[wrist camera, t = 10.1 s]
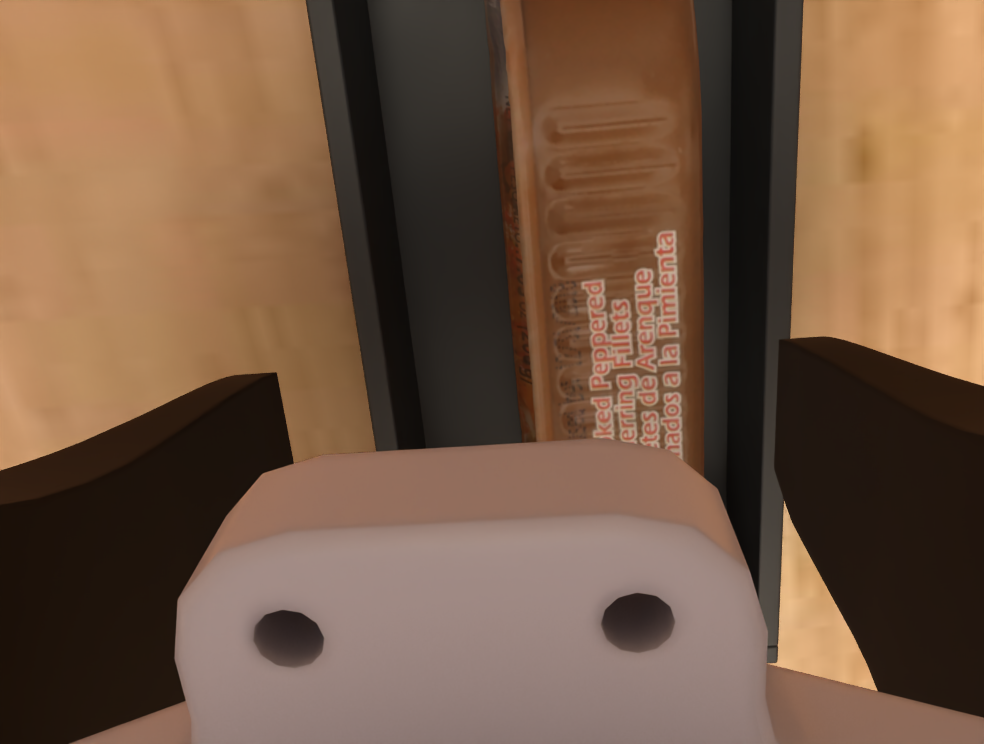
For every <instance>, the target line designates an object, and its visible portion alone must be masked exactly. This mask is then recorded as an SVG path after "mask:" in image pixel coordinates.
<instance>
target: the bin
mask: <svg viewBox="0 0 984 744" xmlns="http://www.w3.org/2000/svg"><path fill="white" fill-rule="evenodd" d="M693 1H694V10H695V20H696V31H697V43H698V55H699V71H700V91H701V110H702V189H703V272H704V478H705V479H706V480H707V481H708V482H710V483H711V484H712V485H713V486H715V487H716V488H717V489H718V491H719V494H720V496H721V499H722V502H723V504H724V507H725V509H726V512H727V514H728V517H729V519H730V522H731V525H732V527H733V530H734V532H735V535H736V537H737V540H738V542H739V545H740V548H741V550H742V553H743V555H744V558H745V560H746V563H747V565H748V568H749V571H750V574H751V577H752V580H753V584H754V587H755V590H756V594H757V597H758V600H759V604H760V607H761V610H762V614H763V617H764V620H765V624H766V627H767V630H768V644H767V663H776V662H777V660H778V646H777V645H778V634H779V609H780V584H781V558H782V533H783V508H784V498H783V495H782V492H781V489H780V486H779V483H778V480H777V476H776V473H775V470H774V453H775V428H776V402H777V376H778V350H779V339H790V331H791V305H792V280H793V255H794V229H795V204H796V179H797V154H798V128H799V103H800V78H801V52H802V27H803V2H804V0H693ZM306 6H307V12H308V18H309V25H310V31H311V38H312V44H313V50H314V57H315V63H316V70H317V76H318V82H319V89H320V95H321V102H322V108H323V114H324V121H325V127H326V134H327V140H328V146H329V153H330V159H331V166H332V172H333V178H334V185H335V191H336V198H337V204H338V210H339V217H340V223H341V230H342V236H343V242H344V249H345V255H346V262H347V268H348V274H349V281H350V287H351V294H352V300H353V306H354V313H355V319H356V326H357V332H358V338H359V345H360V351H361V358H362V364H363V370H364V377H365V383H366V390H367V396H368V402H369V409H370V415H371V421H372V428H373V434H374V441H375V447H376V452H378V451H395V450H412V449H429V448H446V447H463V446H479V445H496V444H513V443H522V430H521V424H520V415H519V409H518V397H517V384H516V373H515V363H514V352H513V341H512V328H511V316H510V304H509V290H508V279H507V268H506V253H505V243H504V232H503V218H502V207H501V194H500V183H499V172H498V162H497V148H496V133H495V126H494V113H493V101H492V88H491V72H490V53H489V47H488V39H487V29H486V16H485V3H484V0H306Z"/></svg>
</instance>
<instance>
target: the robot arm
mask: <svg viewBox="0 0 984 744" xmlns="http://www.w3.org/2000/svg"><path fill="white" fill-rule="evenodd" d="M774 470H775V473H776V476H777V480H778V483H779V486H780V489H781V492H782V495H783V498H784V501H785V504H786V506H787V509H788V512H789V515H790V518H791V520H792V523H793V525H794V527H795V528H796V530H797V532H798V534H799V536H800V538H801V540H802V542H803V544H804V546H805V548H806V549H807V551H808V553H809V555H810V557H811V559H812V561H813V563H814V564H815V566H816V568H817V570H818V572H819V574H820V575H821V577H822V579H823V581H824V583H825V585H826V586H827V588H828V590H829V592H830V594H831V596H832V597H833V599H834V601H835V603H836V605H837V607H838V608H839V610H840V612H841V614H842V616H843V618H844V619H845V621H846V623H847V625H848V627H849V629H850V630H851V632H852V634H853V636H854V638H855V640H856V642H857V644H858V646H859V648H860V650H861V652H862V655H863V657H864V659H865V661H866V663H867V665H868V667H869V670H870V673H871V675H872V678H873V680H874V683H875V685H876V688H877V690H878V691H874V690H870V689H866V688H862V687H858V686H854V685H850V684H846V683H842V682H838V681H834V680H830V679H826V678H822V677H818V676H814V675H810V674H806V673H802V672H797V671H793V670H789V669H785V668H781V667H777V666H773V665H769V664H767V644H768V630H767V627H766V624H765V620H764V617H763V614H762V610H761V607H760V604H759V600H758V597H757V594H756V590H755V587H754V584H753V580H752V577H751V574H750V571H749V568H748V565H747V563H746V560H745V558H744V555H743V553H742V550H741V548H740V545H739V542H738V540H737V537H736V535H735V532H734V530H733V527H732V525H731V522H730V519H729V517H728V514H727V512H726V509H725V507H724V504H723V502H722V499H721V496H720V494H719V491H718V489H717V488H716V487H715V486H713V485H712V484H711V483H710V482H708V481H707V480H706V479H705V478H704V477H702V476H701V475H700V474H699V473H697V472H696V471H695V470H694V469H693V468H691V467H690V466H689V465H688V464H686V463H685V462H684V461H683V460H682V459H680V458H679V457H678V456H677V455H675V454H674V453H673V452H672V451H671V450H668V449H662V448H656V447H651V446H645V445H639V444H634V443H628V442H623V441H617V440H611V439H606V438H597V439H581V440H564V441H547V442H530V443H513V444H496V445H479V446H463V447H446V448H429V449H412V450H395V451H378V452H361V453H344V454H328V455H320V456H317V457H314V458H310V459H307V460H304V461H301V462H298V463H295V464H294V461H293V456H292V451H291V446H290V440H289V435H288V430H287V424H286V419H285V414H284V409H283V403H282V398H281V393H280V387H279V382H278V377H277V372H275V373H259V374H244V375H234V376H229V377H225V378H222V379H219V380H217V381H214V382H211V383H209V384H207V385H204V386H202V387H200V388H198V389H195V390H193V391H191V392H189V393H187V394H185V395H183V396H180V397H178V398H176V399H174V400H172V401H170V402H168V403H166V404H164V405H162V406H160V407H158V408H156V409H153V410H151V411H149V412H147V413H145V414H143V415H141V416H139V417H137V418H134V419H132V420H130V421H128V422H125V423H123V424H121V425H119V426H116V427H114V428H112V429H110V430H107V431H105V432H103V433H101V434H98V435H96V436H94V437H92V438H89V439H87V440H85V441H83V442H80V443H78V444H75V445H73V446H70V447H68V448H65V449H62V450H60V451H57V452H54V453H52V454H49V455H46V456H43V457H40V458H37V459H34V460H32V461H29V462H26V463H23V464H20V465H17V466H14V467H11V468H7V469H4V470H1V471H0V744H984V386H981V385H978V384H974V383H971V382H968V381H964V380H961V379H957V378H954V377H951V376H948V375H945V374H942V373H939V372H936V371H933V370H930V369H927V368H924V367H921V366H918V365H915V364H912V363H909V362H907V361H904V360H901V359H898V358H895V357H893V356H890V355H887V354H884V353H881V352H878V351H876V350H873V349H870V348H867V347H864V346H861V345H858V344H855V343H852V342H848V341H845V340H841V339H837V338H832V337H809V338H794V339H779V350H778V376H777V402H776V428H775V453H774Z"/></svg>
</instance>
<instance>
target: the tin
mask: <svg viewBox="0 0 984 744" xmlns="http://www.w3.org/2000/svg"><path fill="white" fill-rule="evenodd" d="M484 3H485V16H486V29H487V39H488V47H489V53H490V72H491V88H492V101H493V113H494V126H495V133H496V148H497V162H498V172H499V183H500V194H501V207H502V218H503V232H504V243H505V253H506V268H507V279H508V290H509V304H510V316H511V328H512V341H513V352H514V363H515V373H516V384H517V397H518V409H519V415H520V424H521V430H522V443H530V442H547V441H564V440H581V439H597V438H606V439H611V440H617V441H623V442H628V443H634V444H639V445H645V446H651V447H656V448H662V449H668V450H671V451H672V452H673V453H674V454H675V455H677V456H678V457H679V458H680V459H682V460H683V461H684V462H685V463H686V464H688V465H689V466H690V467H691V468H693V469H694V470H695V471H696V472H697V473H699V474H700V475H701V476H702V477H704V272H703V189H702V110H701V91H700V71H699V55H698V43H697V31H696V20H695V10H694V1H693V0H484Z"/></svg>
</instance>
